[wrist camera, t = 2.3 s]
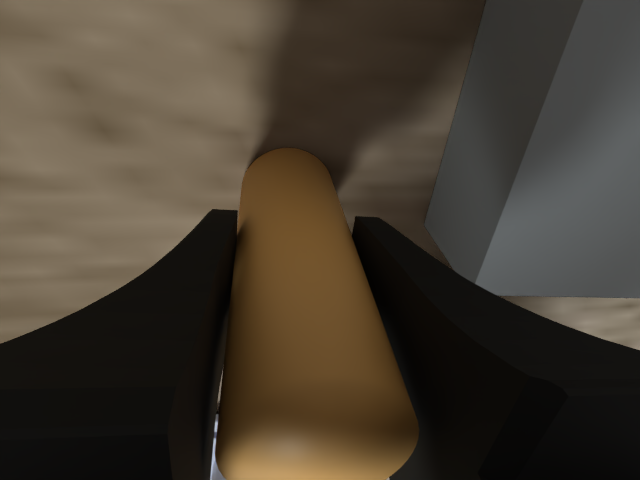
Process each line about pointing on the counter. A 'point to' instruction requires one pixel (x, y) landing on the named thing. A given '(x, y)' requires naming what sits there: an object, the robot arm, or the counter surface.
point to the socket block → (546, 153)
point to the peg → (305, 340)
